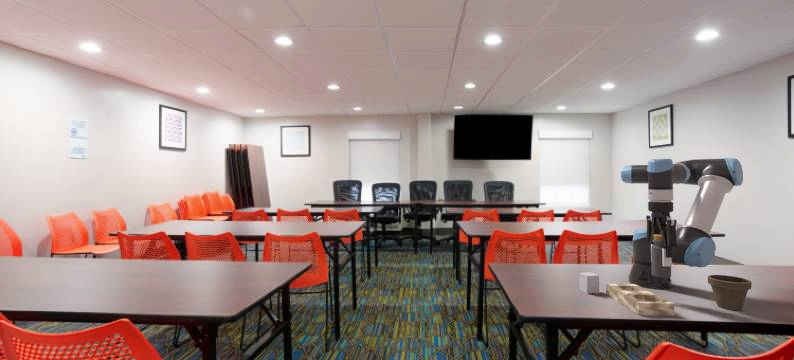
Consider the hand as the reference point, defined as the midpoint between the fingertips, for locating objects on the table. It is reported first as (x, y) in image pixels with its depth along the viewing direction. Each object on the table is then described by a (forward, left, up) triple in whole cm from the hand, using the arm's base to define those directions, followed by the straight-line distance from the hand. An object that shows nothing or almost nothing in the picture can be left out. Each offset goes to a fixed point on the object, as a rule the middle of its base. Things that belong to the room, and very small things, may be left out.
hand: (661, 263), depth 136 cm
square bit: (+21, -10, -14) cm, 27 cm away
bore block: (+11, +4, -13) cm, 18 cm away
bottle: (0, 0, -5) cm, 5 cm away
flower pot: (-19, +6, -14) cm, 24 cm away
